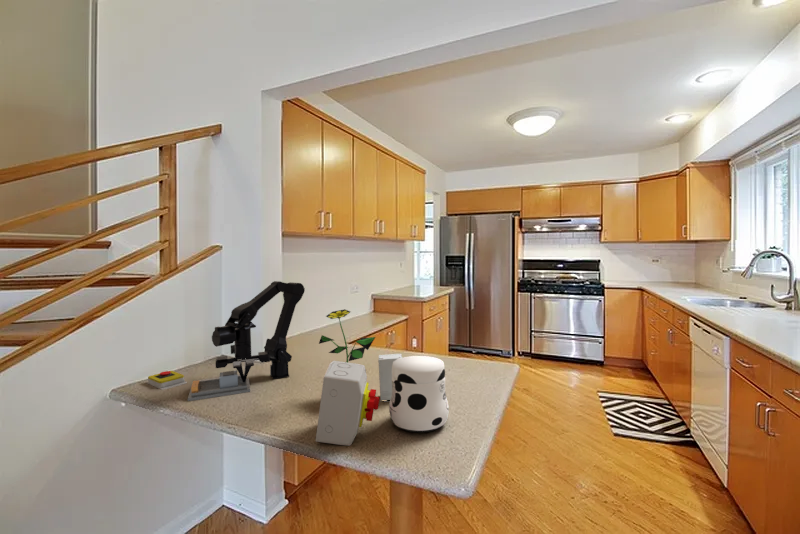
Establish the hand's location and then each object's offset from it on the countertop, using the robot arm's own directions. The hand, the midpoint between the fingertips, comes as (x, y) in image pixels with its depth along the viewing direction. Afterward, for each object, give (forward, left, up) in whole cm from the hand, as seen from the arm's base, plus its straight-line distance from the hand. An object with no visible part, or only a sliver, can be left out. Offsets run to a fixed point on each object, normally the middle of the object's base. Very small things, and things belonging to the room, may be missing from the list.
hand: (244, 382), depth 143 cm
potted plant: (-32, +29, -2) cm, 43 cm away
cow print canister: (-46, +55, -2) cm, 72 cm away
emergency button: (+28, -20, -3) cm, 34 cm away
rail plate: (+8, -1, -2) cm, 8 cm away
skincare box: (-46, +34, -2) cm, 57 cm away
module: (+5, 0, -1) cm, 5 cm away
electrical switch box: (-26, +52, -2) cm, 58 cm away
